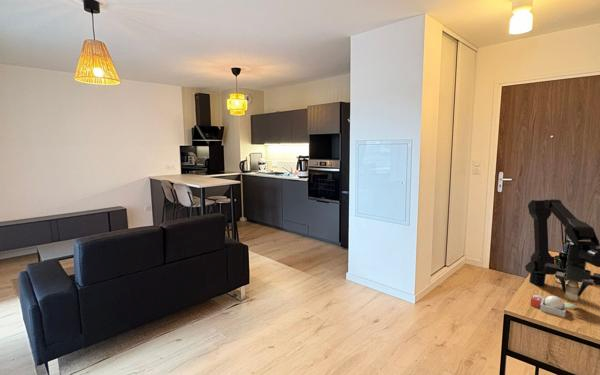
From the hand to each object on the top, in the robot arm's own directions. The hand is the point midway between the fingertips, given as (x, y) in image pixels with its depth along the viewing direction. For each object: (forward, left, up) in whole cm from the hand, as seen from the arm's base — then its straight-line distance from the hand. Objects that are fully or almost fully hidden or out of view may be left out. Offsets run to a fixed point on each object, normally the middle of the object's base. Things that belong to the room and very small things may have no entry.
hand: (571, 294), depth 126 cm
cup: (-38, +16, -6) cm, 41 cm away
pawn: (0, 0, -1) cm, 1 cm away
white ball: (+6, -8, -5) cm, 11 cm away
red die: (+4, -13, -6) cm, 15 cm away
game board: (+2, -6, -6) cm, 9 cm away
